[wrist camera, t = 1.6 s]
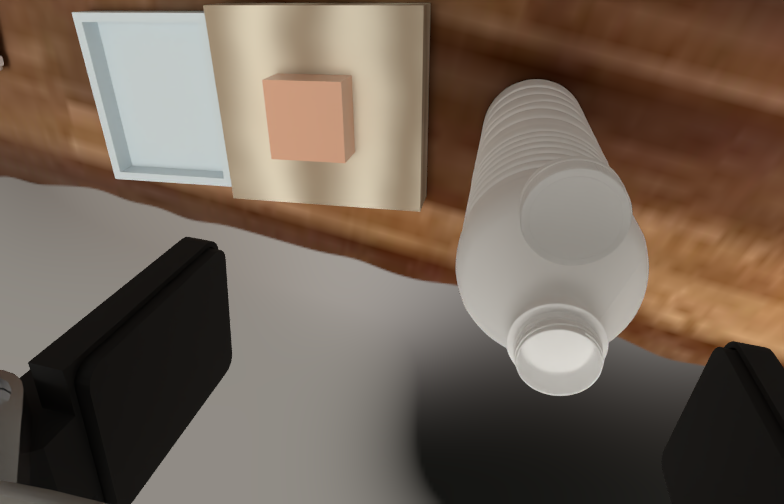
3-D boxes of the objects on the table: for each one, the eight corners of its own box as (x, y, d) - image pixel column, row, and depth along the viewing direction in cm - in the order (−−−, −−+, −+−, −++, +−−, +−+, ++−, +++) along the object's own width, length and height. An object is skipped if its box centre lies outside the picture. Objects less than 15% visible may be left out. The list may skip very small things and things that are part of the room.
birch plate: (430, 2, 33) (423, 5, 31) (426, 195, 39) (420, 211, 37) (225, 3, 36) (203, 5, 33) (250, 184, 42) (233, 198, 39)
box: (220, 11, 36) (205, 12, 35) (244, 177, 42) (232, 186, 40) (91, 10, 38) (71, 12, 36) (131, 170, 44) (115, 178, 42)
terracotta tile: (351, 75, 34) (341, 81, 31) (355, 152, 36) (345, 163, 34) (277, 73, 34) (262, 79, 32) (285, 148, 37) (271, 159, 35)
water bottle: (577, 174, 37) (669, 469, 15) (482, 173, 38) (438, 442, 16) (592, 38, 33) (748, 169, 11) (484, 42, 34) (432, 166, 12)
